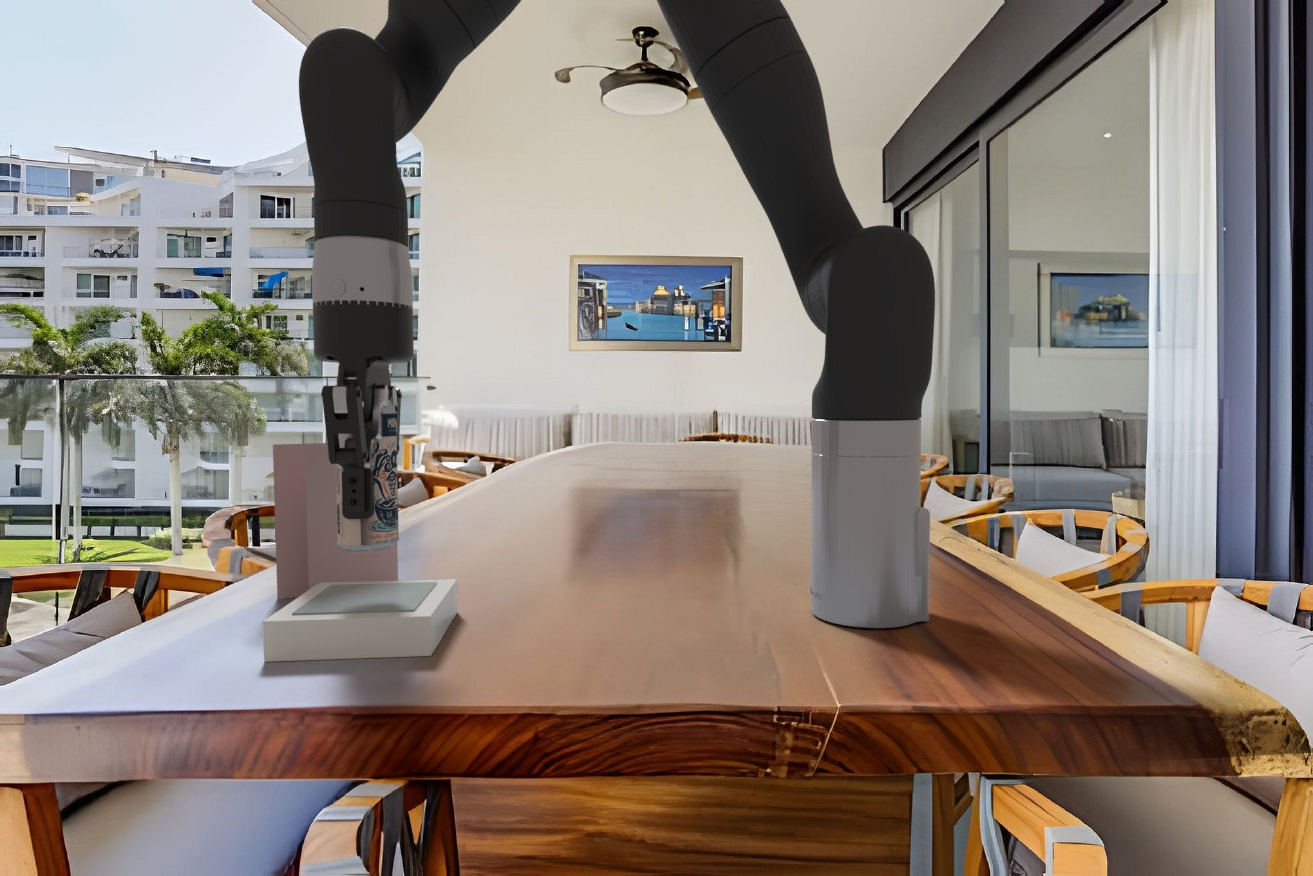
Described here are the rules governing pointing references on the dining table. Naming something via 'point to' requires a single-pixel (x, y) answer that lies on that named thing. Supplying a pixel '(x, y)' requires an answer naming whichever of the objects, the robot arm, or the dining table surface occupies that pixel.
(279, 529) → the greeting card
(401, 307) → the robot arm
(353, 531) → the beer can
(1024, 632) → the dining table surface
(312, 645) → the picture frame
